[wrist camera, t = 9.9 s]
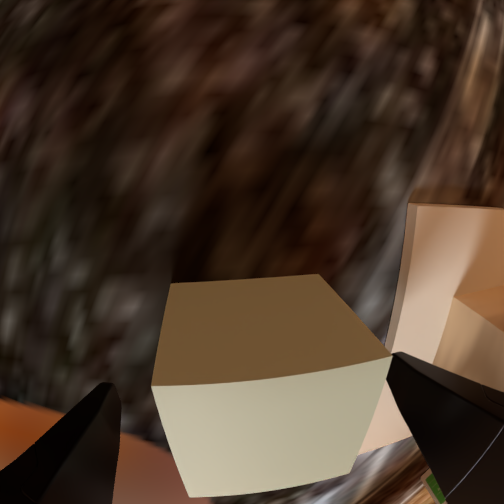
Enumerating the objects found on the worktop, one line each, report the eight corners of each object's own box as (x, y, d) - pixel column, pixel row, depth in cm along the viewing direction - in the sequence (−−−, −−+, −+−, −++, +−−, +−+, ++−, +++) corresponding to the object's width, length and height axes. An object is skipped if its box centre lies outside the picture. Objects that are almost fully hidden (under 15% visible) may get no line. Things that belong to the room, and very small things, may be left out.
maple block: (485, 368, 14) (531, 411, 9) (419, 396, 13) (468, 458, 8) (516, 281, 12) (577, 318, 7) (453, 296, 11) (531, 353, 7)
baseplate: (483, 393, 16) (487, 398, 16) (352, 448, 15) (355, 455, 14) (541, 211, 12) (547, 213, 11) (407, 202, 10) (417, 206, 10)
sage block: (306, 381, 12) (349, 472, 7) (187, 393, 11) (189, 497, 7) (317, 272, 11) (392, 356, 6) (171, 282, 10) (151, 385, 5)
